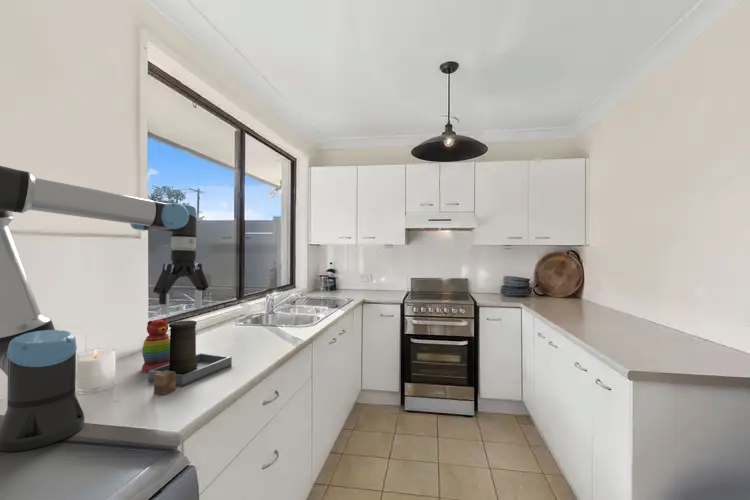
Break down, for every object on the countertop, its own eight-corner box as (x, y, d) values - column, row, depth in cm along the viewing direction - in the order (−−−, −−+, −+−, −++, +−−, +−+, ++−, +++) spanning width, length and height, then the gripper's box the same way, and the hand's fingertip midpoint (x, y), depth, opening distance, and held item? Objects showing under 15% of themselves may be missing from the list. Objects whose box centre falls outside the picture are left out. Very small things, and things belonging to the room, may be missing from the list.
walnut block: (163, 396, 105) (163, 375, 105) (153, 394, 106) (154, 374, 106) (175, 391, 108) (175, 371, 109) (165, 389, 110) (165, 370, 110)
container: (202, 370, 125) (203, 320, 125) (187, 379, 116) (187, 325, 116) (179, 370, 125) (179, 319, 126) (161, 378, 116) (161, 324, 117)
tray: (182, 387, 111) (182, 376, 112) (147, 381, 116) (147, 370, 116) (231, 366, 132) (231, 356, 132) (200, 362, 137) (200, 353, 137)
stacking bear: (146, 373, 124) (147, 323, 124) (135, 368, 130) (136, 320, 130) (178, 366, 132) (179, 318, 133) (167, 361, 138) (167, 316, 139)
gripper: (159, 248, 108) (157, 317, 107) (219, 250, 131) (218, 307, 131) (141, 248, 110) (139, 316, 110) (203, 250, 134) (202, 305, 133)
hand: (182, 311), depth 120 cm, fingers open, 13 cm apart
